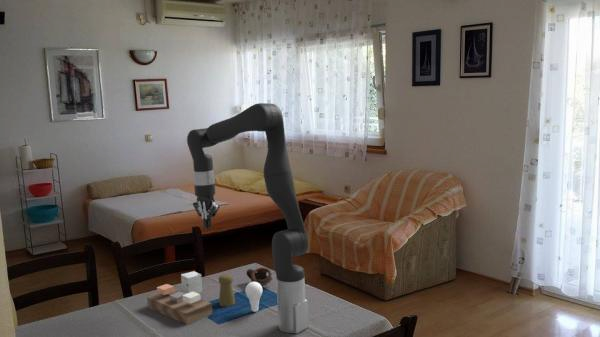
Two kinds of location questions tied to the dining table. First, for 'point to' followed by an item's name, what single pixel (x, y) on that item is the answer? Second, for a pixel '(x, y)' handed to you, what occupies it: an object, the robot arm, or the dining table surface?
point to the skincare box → (191, 282)
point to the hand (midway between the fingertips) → (207, 228)
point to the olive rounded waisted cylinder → (226, 290)
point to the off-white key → (191, 297)
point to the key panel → (179, 308)
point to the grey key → (177, 297)
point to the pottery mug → (260, 275)
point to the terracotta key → (165, 289)
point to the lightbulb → (254, 294)
